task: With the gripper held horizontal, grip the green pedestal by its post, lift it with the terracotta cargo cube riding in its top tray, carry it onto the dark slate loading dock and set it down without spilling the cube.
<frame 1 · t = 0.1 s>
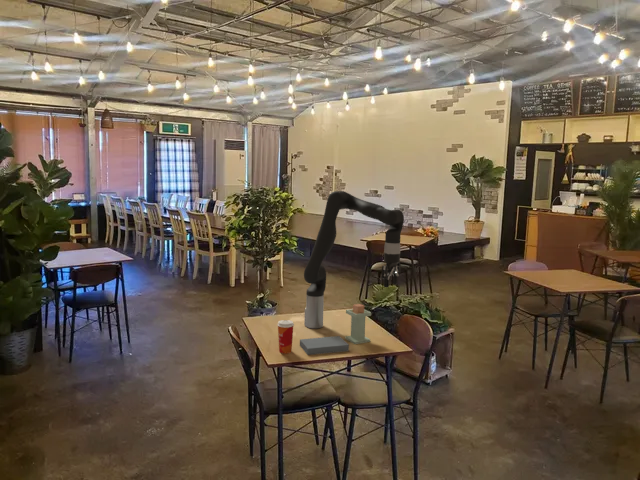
hand: (390, 285, 240), 29 cm above the table, tool pointing down, fingers open, 8 cm apart
green pedestal: (357, 340, 250), on the table, touching cargo cube
paper cup: (285, 351, 232), on the table
cargo cube: (358, 313, 248), point 14 cm above the table, touching green pedestal
loading dock: (323, 348, 238), on the table
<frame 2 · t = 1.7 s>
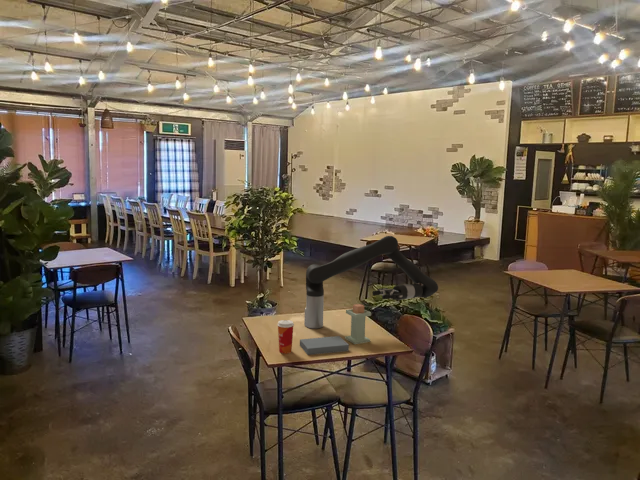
hand: (377, 295, 252), 22 cm above the table, tool horizontal, fingers open, 8 cm apart
nothing on the table moved.
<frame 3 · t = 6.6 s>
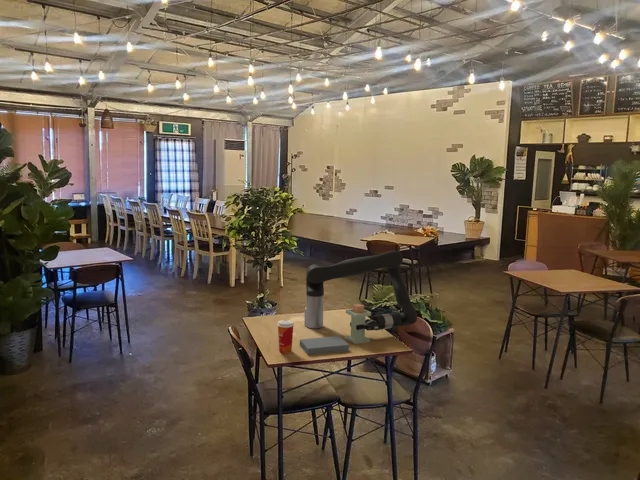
hand: (353, 326, 248), 8 cm above the table, tool horizontal, fingers closed on green pedestal, 5 cm apart
green pedestal: (357, 340, 250), on the table, touching cargo cube, gripper
everything else where it was.
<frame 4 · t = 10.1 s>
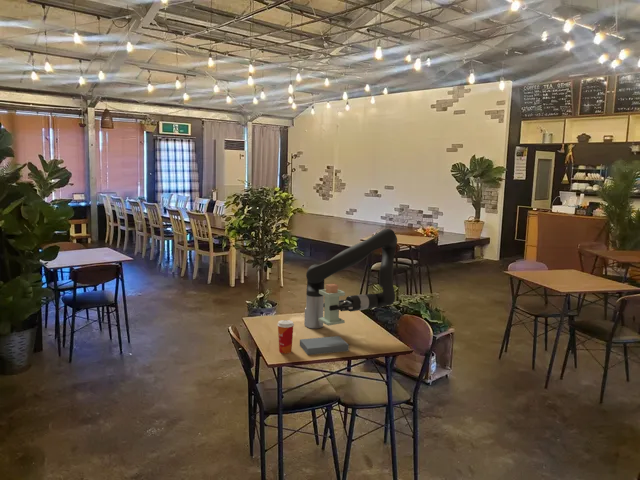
hand: (326, 306, 236), 20 cm above the table, tool horizontal, fingers closed on green pedestal, 5 cm apart
green pedestal: (331, 321, 238), point 12 cm above the table, touching cargo cube, gripper
cargo cube: (331, 293, 236), point 26 cm above the table, touching green pedestal
everything else where it was.
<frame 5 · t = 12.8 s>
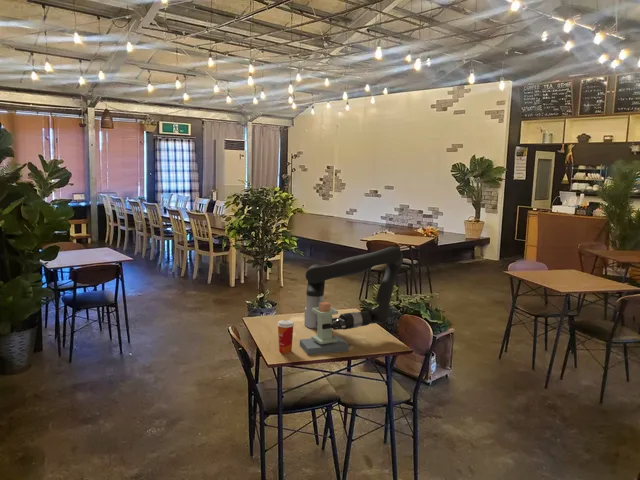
hand: (319, 325, 235), 11 cm above the table, tool horizontal, fingers closed on green pedestal, 5 cm apart
green pedestal: (324, 340, 237), point 4 cm above the table, touching cargo cube, gripper
cargo cube: (324, 311, 235), point 18 cm above the table, touching green pedestal
everything else where it was.
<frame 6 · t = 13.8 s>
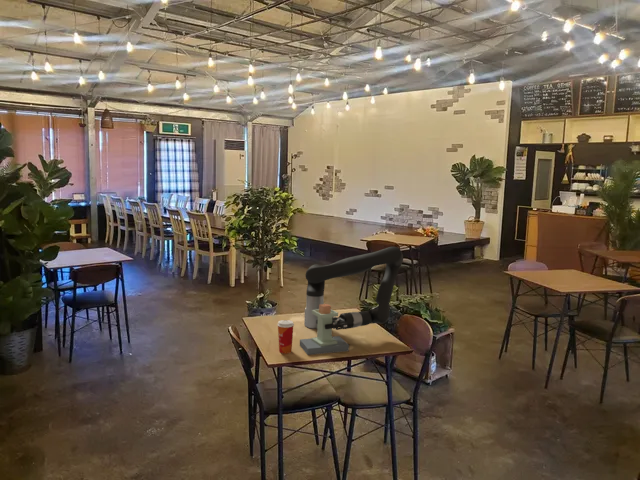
hand: (320, 324, 235), 12 cm above the table, tool horizontal, fingers open, 8 cm apart
green pedestal: (324, 342, 237), point 3 cm above the table, touching cargo cube, loading dock
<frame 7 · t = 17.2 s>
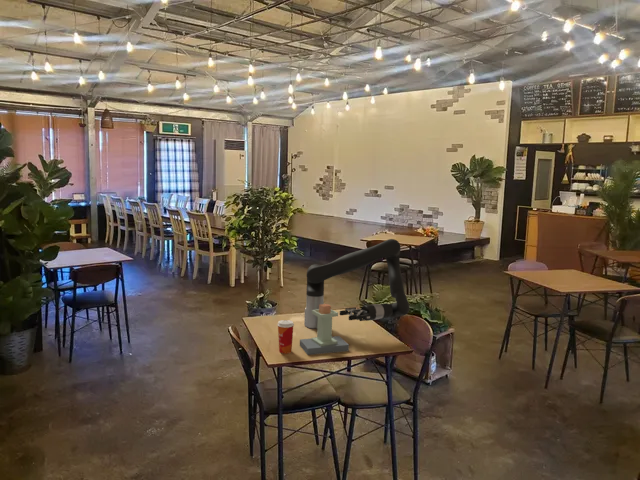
hand: (344, 315, 241), 15 cm above the table, tool horizontal, fingers open, 8 cm apart
nothing on the table moved.
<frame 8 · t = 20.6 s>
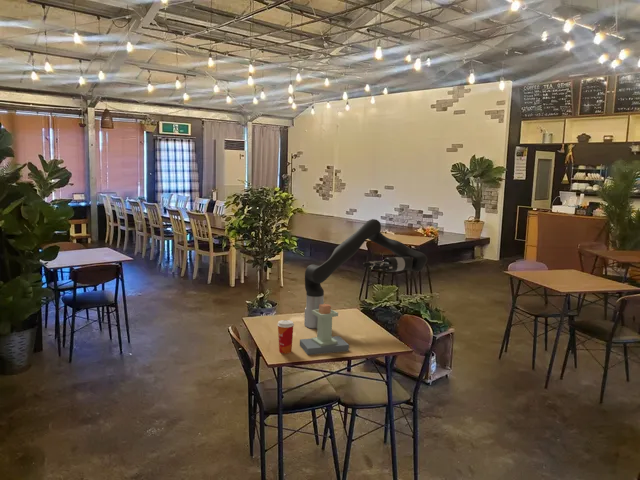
hand: (368, 266, 257), 35 cm above the table, tool horizontal, fingers open, 8 cm apart
nothing on the table moved.
at the end: green pedestal inside the target area on the loading dock (0.1 cm from its centre), point 3.0 cm above the loading dock's base; cargo cube 0.1 cm off-centre on the green pedestal, point 13.8 cm above the green pedestal's base; green pedestal tilted 0° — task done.
